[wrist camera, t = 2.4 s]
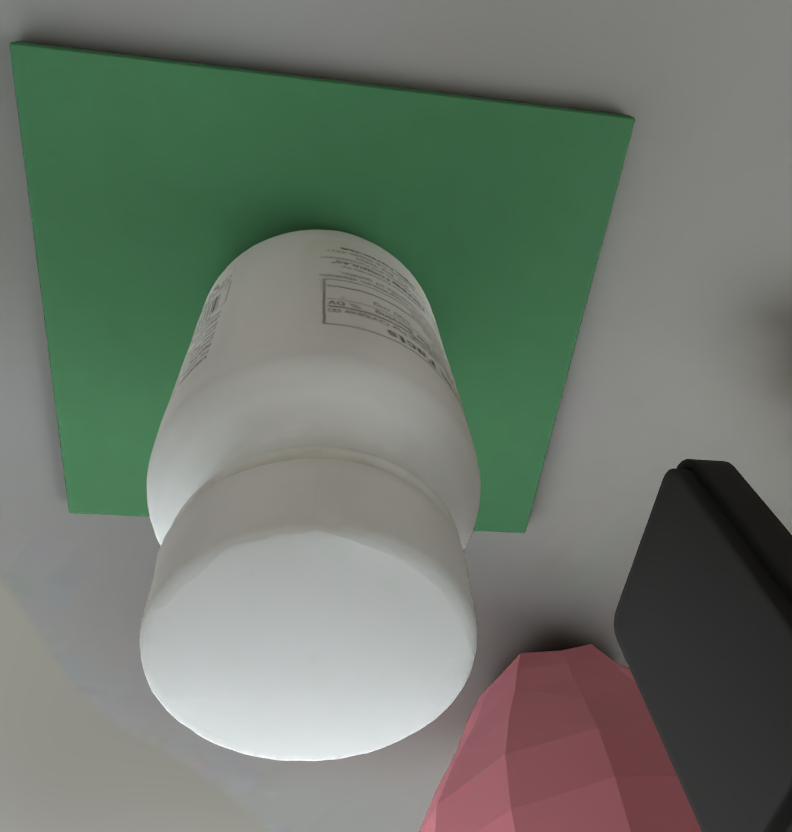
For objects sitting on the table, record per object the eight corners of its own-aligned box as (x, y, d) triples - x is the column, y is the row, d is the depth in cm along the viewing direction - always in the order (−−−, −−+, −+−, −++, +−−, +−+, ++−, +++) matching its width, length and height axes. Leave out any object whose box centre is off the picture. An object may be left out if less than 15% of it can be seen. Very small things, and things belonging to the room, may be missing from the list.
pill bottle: (254, 460, 15) (199, 828, 9) (161, 266, 13) (-6, 565, 7) (458, 401, 15) (561, 738, 8) (399, 192, 13) (476, 427, 6)
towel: (72, 504, 16) (68, 513, 16) (15, 40, 11) (8, 42, 11) (522, 525, 17) (525, 533, 17) (629, 115, 13) (636, 117, 13)
